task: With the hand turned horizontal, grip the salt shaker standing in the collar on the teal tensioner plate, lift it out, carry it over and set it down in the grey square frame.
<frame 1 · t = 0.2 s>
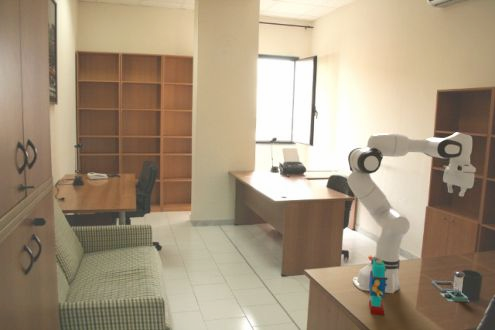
hand: (455, 194, 202), 47 cm above the table, tool pointing down, fingers open, 8 cm apart
salt shaker: (456, 297, 194), point 1 cm above the table, touching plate
toy robot: (375, 310, 180), on the table
grey square frame: (446, 289, 205), on the table
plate: (454, 299, 194), on the table
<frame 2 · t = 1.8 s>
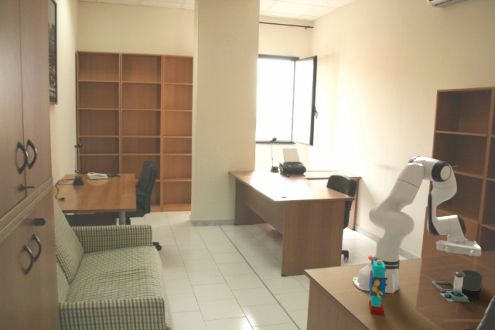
hand: (459, 252, 203), 19 cm above the table, tool horizontal, fingers open, 8 cm apart
nothing on the table moved.
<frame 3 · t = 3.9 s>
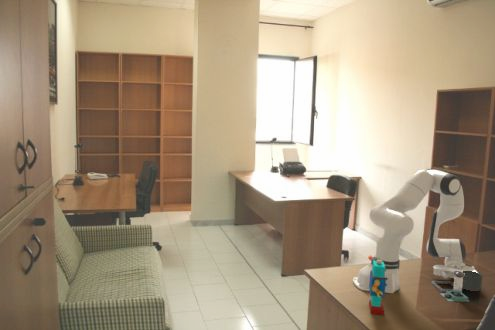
hand: (456, 278, 200), 7 cm above the table, tool horizontal, fingers open, 8 cm apart
nothing on the table moved.
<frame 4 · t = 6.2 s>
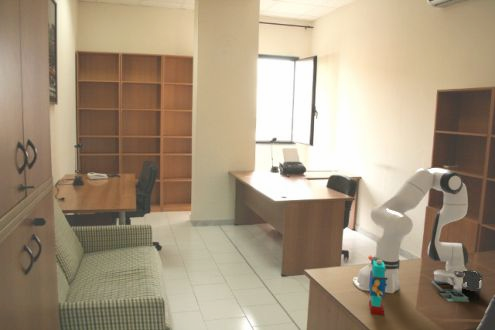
hand: (458, 284, 193), 8 cm above the table, tool horizontal, fingers closed on salt shaker, 4 cm apart
salt shaker: (456, 297, 194), point 1 cm above the table, touching gripper, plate
everything else where it was.
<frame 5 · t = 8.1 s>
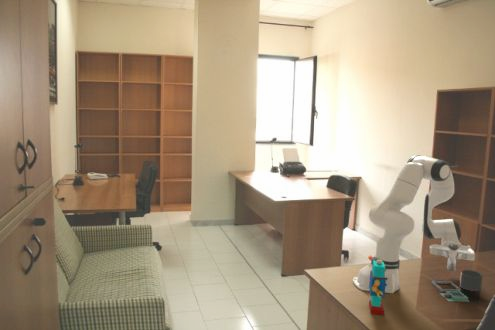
hand: (452, 257, 202), 17 cm above the table, tool horizontal, fingers closed on salt shaker, 4 cm apart
salt shaker: (450, 269, 204), point 11 cm above the table, touching gripper
everything else where it was.
when the fingers open (8 cm above the table, at t = 10.5 s): salt shaker drops 1 cm, resting on grey square frame.
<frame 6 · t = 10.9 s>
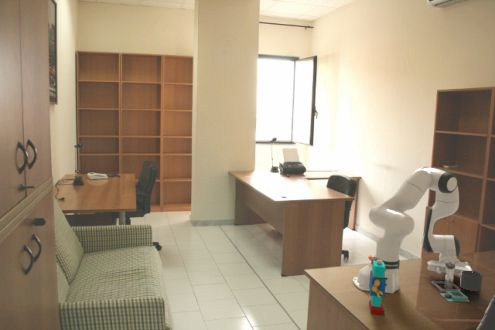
hand: (450, 274, 203), 8 cm above the table, tool horizontal, fingers open, 8 cm apart
salt shaker: (448, 288, 205), point 1 cm above the table, touching grey square frame
everything else where it was.
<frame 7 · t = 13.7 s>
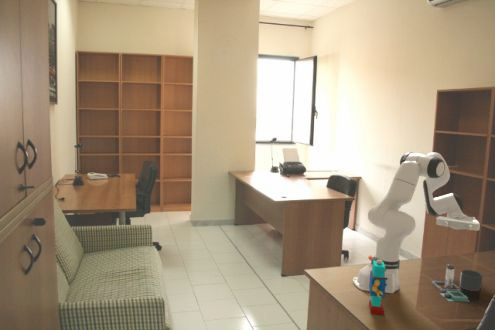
hand: (458, 226, 210), 30 cm above the table, tool horizontal, fingers open, 8 cm apart
nothing on the table moved.
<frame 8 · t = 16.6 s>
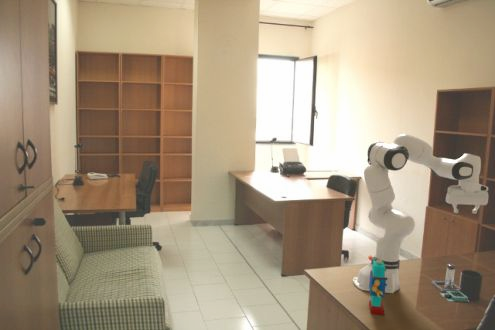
hand: (465, 212, 209), 37 cm above the table, tool pointing down, fingers open, 8 cm apart
nothing on the table moved.
at the end: salt shaker inside the target area on the grey square frame (1.0 cm from its centre), point 0.6 cm above the grey square frame's base; salt shaker touching grey square frame; the gripper is holding nothing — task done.
